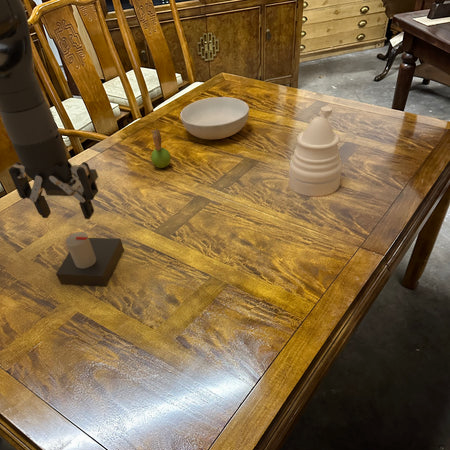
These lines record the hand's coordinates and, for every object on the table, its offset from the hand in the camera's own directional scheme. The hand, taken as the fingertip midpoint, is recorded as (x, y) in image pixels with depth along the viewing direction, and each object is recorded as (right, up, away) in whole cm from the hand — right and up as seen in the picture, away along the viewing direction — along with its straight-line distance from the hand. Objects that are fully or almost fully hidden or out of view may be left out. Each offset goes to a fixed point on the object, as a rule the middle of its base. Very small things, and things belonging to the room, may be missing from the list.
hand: (68, 216), depth 79 cm
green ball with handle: (+12, +21, +39) cm, 46 cm away
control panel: (+1, -8, +11) cm, 14 cm away
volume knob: (+1, -8, +8) cm, 11 cm away
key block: (-12, +16, +36) cm, 41 cm away
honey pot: (+53, +14, +28) cm, 61 cm away
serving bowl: (+27, +37, +52) cm, 69 cm away
